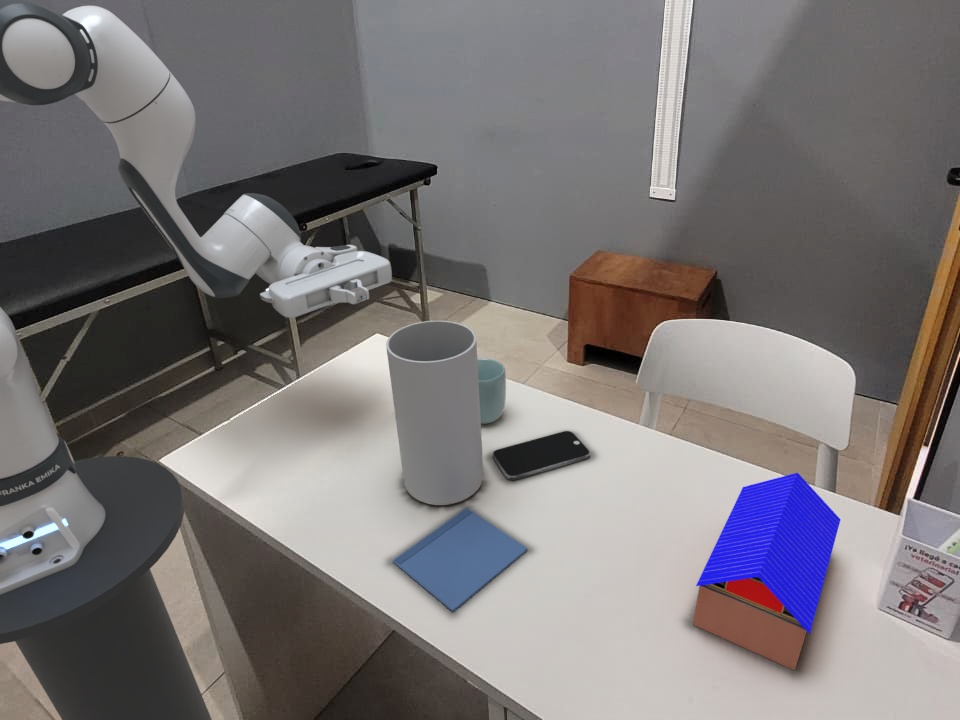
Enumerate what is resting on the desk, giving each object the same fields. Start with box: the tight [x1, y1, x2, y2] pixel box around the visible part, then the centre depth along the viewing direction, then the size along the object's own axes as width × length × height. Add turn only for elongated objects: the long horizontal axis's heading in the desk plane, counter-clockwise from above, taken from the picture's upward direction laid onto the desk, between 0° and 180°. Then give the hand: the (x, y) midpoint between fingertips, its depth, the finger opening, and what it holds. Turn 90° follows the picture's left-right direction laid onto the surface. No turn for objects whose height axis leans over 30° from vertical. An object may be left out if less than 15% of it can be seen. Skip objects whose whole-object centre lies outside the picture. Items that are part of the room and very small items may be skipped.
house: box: [692, 472, 841, 671], centre depth 79 cm, size 12×20×12 cm, turn 146°
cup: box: [477, 358, 507, 425], centre depth 115 cm, size 8×8×10 cm
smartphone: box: [491, 430, 591, 481], centre depth 106 cm, size 8×1×15 cm
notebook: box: [392, 507, 528, 613], centre depth 88 cm, size 14×12×1 cm
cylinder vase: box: [385, 320, 484, 506], centre depth 96 cm, size 12×12×25 cm
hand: (361, 297), depth 99 cm, fingers closed
